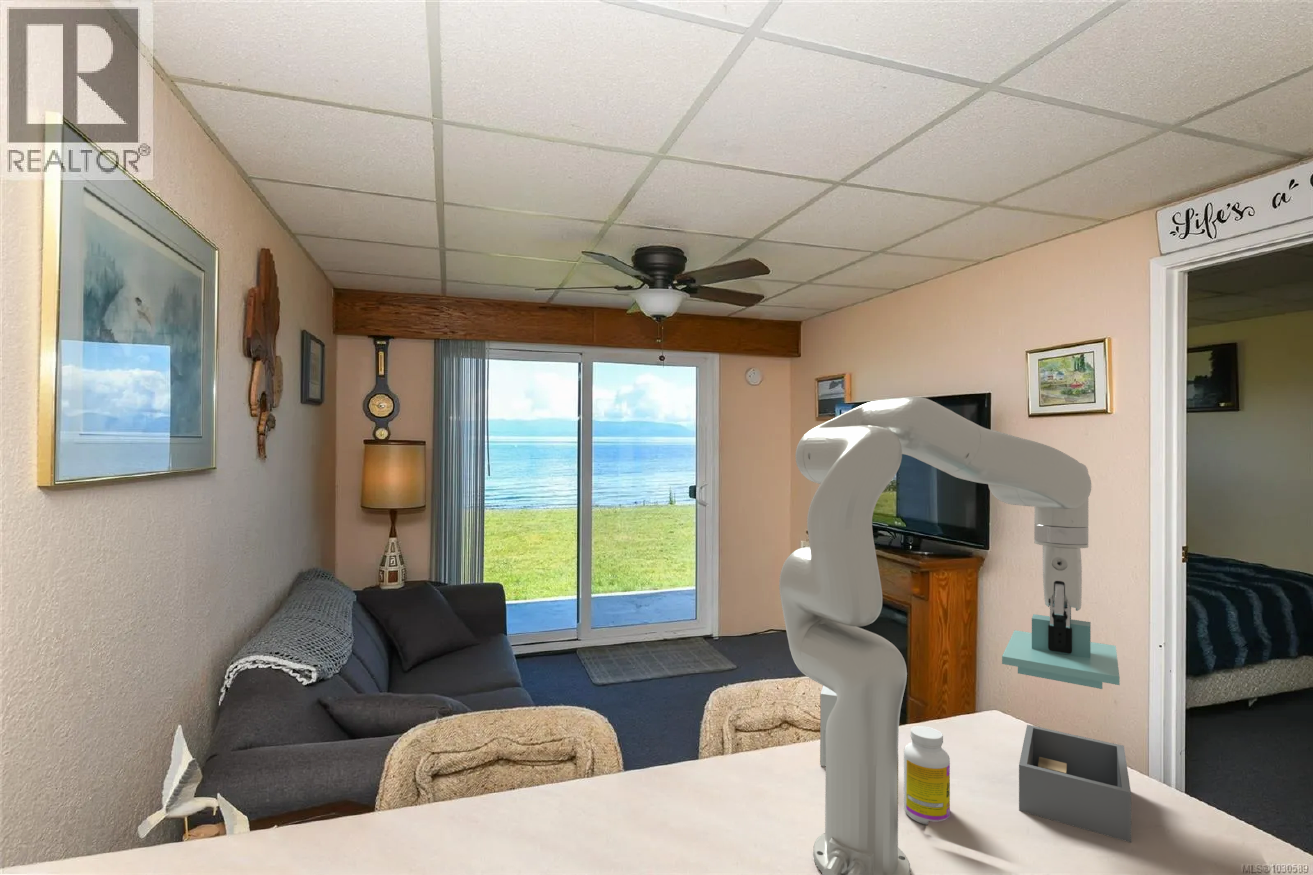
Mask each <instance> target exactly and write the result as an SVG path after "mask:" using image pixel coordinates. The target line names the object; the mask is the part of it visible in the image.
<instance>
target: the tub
mask: <svg viewBox="0 0 1313 875" xmlns="http://www.w3.org/2000/svg"><path fill="white" fill-rule="evenodd" d="M1021 748H1022V749H1021V753H1020V758H1019V759H1020V760H1019V762H1018V811H1019V812H1023V813H1025V814H1030V815H1033V816H1037V817H1040V818H1044V819H1046V820H1047V819H1048V820H1051V821H1055V822H1058V823H1062V824H1065V825H1069V826H1071V827H1072V826H1073V827H1076V828H1079V829H1082V830H1086V831H1090V832H1093V833H1097V834H1100V835H1104V836H1106V837H1111V838H1113V839H1117V840H1121V841H1124V842H1128V843H1132V792H1131V784H1130V777H1129V771H1128V764H1127V758H1126V751H1125V745H1122V744H1118V743H1114V742H1113V743H1112V742H1109V741H1104V740H1099V739H1095V738H1090V737H1085V736H1081V735H1076V734H1072V733H1067V732H1062V731H1058V730H1052V729H1049V728H1046V727H1045V728H1044V727H1040V726H1035V725H1031V724H1027V725H1026V729H1025V733H1024V739H1023V742H1022V747H1021ZM1039 757H1042V758H1047V759H1051V760H1055V761H1059V762H1063V763H1067V774H1065V773H1061V772H1057V771H1053V770H1049V769H1045V768H1041V767H1038V762H1039Z"/></svg>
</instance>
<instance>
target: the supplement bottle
mask: <svg viewBox="0 0 1313 875" xmlns="http://www.w3.org/2000/svg"><path fill="white" fill-rule="evenodd" d="M910 740H911V742H908V743H907V744H906V745H905V747H904V749H903V750H904V751H903V809H904V811H905V813H906V815H907V816H908V817H909V818H911V819H912V820H913V821H916V822H917V823H920V824H922V825H929V822H943V821H945V820H948V819H949V818H950V814H951V801H950V800H951V773H950V772H951V771H950V770H951V768H950V767H951V760H950V759H951V758H950V756H949V754H948V752H947V751H946V749H944V747H942V746H943V744H944V735H943V733H942V731H940V730H938V729H936V728H934V727H931V726H925V725H916V726H915V725H914V726H912V727H910Z"/></svg>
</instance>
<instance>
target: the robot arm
mask: <svg viewBox="0 0 1313 875" xmlns="http://www.w3.org/2000/svg"><path fill="white" fill-rule="evenodd" d="M903 455H906V456H909V457H911V458H914V459H915V460H916V459H917V460H918V461H921V462H923V463H925V464H927V465H930V466H931V467H933V468H935V469H937V470H940V471H941V472H944V473H946V474H948V475H950V476H952V477H954V478H958V479H959V480H965V481H968V482H969V481H970V482H974V483H978V484H986V485H988V489H989V491H990V493H991V494H992V496H993V497H994V498H995V499H997V500H999V501H1000V502H1002V503H1004V504H1008V505H1012V506H1020V507H1021V506H1023V507H1031V508H1033V507H1034V512H1033V514H1034V518H1033V519H1034V531H1033V532H1034V533H1033V534H1034V536H1033V537H1034V538H1033V540H1034V544H1036V545H1038V546H1039V545H1040V546H1042V585H1043V597H1044V598H1043V600H1044V605H1046V607H1048V608H1049V616H1050V625H1048V649H1049V650H1051V651H1056V652H1062V653H1068V654H1070V653H1072V628H1070V619H1072V608H1073V609H1074V608H1075V611H1077V612H1078V611H1080V610H1081V608H1082V594H1083V593H1082V588H1083V587H1082V585H1083V584H1082V582H1083V580H1082V578H1083V577H1082V575H1083V574H1082V572H1083V571H1082V569H1083V568H1082V567H1083V566H1082V564H1083V563H1082V551H1081V549H1088V548H1089V497H1090V496H1091V492H1092V480H1091V476H1090V475H1089V471H1088V467H1087V466H1086V465H1085V464H1084V463H1081V462H1080V461H1078V460H1077V459H1075V458H1074V457H1072V456H1071V455H1068V454H1067V453H1066V452H1065V453H1064V452H1063V451H1061V450H1059V449H1057V448H1055V447H1053V446H1050V445H1047V444H1044V443H1041V442H1038V441H1033V440H1030V439H1026V438H1022V437H1018V436H1015V435H1012V434H1008V433H1005V432H1001V431H998V430H993V429H991V428H990V429H989V428H986V427H984V426H981V425H979V424H977V423H975V422H973V421H972V420H969V419H967V418H965V417H963V416H962V415H960V414H958V413H957V412H954V411H953V410H951V409H949V408H947V407H946V406H943V405H941V404H940V403H938V402H935V401H933V400H932V399H929V398H926V397H922V396H921V397H920V396H904V397H895V398H894V397H893V398H883V399H874V400H871V401H868V402H866V403H863V404H861V405H859V406H856V407H854V408H852V409H850V410H848V411H845V412H844V413H842V414H840V415H837V416H836V417H834V418H832V419H830V420H827V421H825V422H823V423H821V424H819V425H817V426H815V427H813V428H811V429H810V430H808V431H806V433H805V434H803V436H802V437H801V438H800V440H799V442H798V443H797V445H796V450H795V465H796V467H797V468H798V471H799V472H800V473H801V475H802V476H803V477H804V478H806V479H807V480H808V481H810V482H813V483H815V484H818V485H819V486H818V487H817V489H816V491H815V493H814V495H813V497H812V499H811V502H810V504H809V508H808V511H807V517H806V519H807V520H806V522H807V524H806V526H807V535H808V544H809V545H808V546H805V547H800V548H797V549H796V550H794V551H793V552H792V553H790V555H789V556H787V558H786V560H784V562H783V565H782V567H781V571H780V574H779V585H778V586H779V588H778V589H779V595H780V596H779V597H780V602H781V608H782V614H783V620H784V625H785V626H784V627H785V630H786V636H787V641H788V646H789V647H788V648H789V651H790V654H791V657H792V659H793V662H794V664H795V665H796V668H797V669H798V670H799V671H800V672H801V673H802V674H803V675H804V676H806V677H807V678H808V679H810V680H812V681H814V682H816V683H818V684H820V685H823V686H825V687H827V688H829V689H830V690H832V691H833V692H835V693H836V694H837V701H836V704H835V706H834V708H833V710H832V712H831V713H830V715H829V718H828V720H827V725H826V738H825V745H826V767H825V792H824V793H825V794H824V795H825V796H824V797H825V800H824V802H825V803H824V804H825V806H824V807H825V810H824V814H825V815H824V816H825V817H824V820H825V821H824V827H825V828H824V833H822V834H821V835H819V836H818V837H817V838H816V839H815V841H814V844H813V849H812V850H813V851H812V853H813V854H812V856H813V861H814V863H815V864H816V867H817V868H818V869H819V871H820V872H821V873H822V875H911V864H910V861H909V858H908V857H907V856H906V854H905V852H903V851H902V850H901V848H899V730H900V729H899V727H900V717H901V709H902V703H903V697H904V693H905V691H906V690H905V689H906V685H907V677H908V676H907V675H908V672H907V664H906V661H905V658H904V657H903V654H902V653H901V652H900V650H899V649H898V648H897V647H896V646H895V644H893V643H892V642H890V641H889V640H888V639H886V638H885V637H883V636H882V635H879V634H877V633H875V632H872V631H869V630H867V629H864V628H862V627H865V626H869V625H870V624H873V623H874V622H875V621H876V620H877V619H878V618H879V616H880V615H881V612H882V608H883V590H882V589H883V588H882V581H881V577H880V569H879V564H878V559H877V553H876V552H877V551H876V546H875V542H874V535H873V534H874V533H873V532H874V531H873V515H874V511H875V508H876V506H877V503H878V500H879V499H880V497H881V495H882V493H883V492H884V491H885V489H886V488H887V486H888V485H889V484H890V483H891V482H892V480H893V479H894V477H895V476H896V474H897V473H898V471H899V469H900V466H901V464H902V460H903Z"/></svg>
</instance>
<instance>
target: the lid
mask: <svg viewBox="0 0 1313 875" xmlns="http://www.w3.org/2000/svg"><path fill="white" fill-rule="evenodd" d="M1091 624H1092V623H1091V621H1086V620H1079V619H1078V620H1077V619H1072V618H1071V619H1070V628H1072V653H1070V654H1068V653H1062V652H1056V651H1051V650H1049V649H1048V625H1050V615H1042V614H1035V613H1033V614H1032V617H1031V632H1028V631H1023V630H1022V631H1021V630H1016V629H1015V630H1013V632H1012V634H1011V636H1010V639H1009V640H1008V643H1007V645H1006V647H1005V649H1004V651H1003V654H1002V655H1001V664H1002V665H1007V666H1012V667H1016V668H1017V674H1020V675H1025V676H1031V677H1035V678H1040V679H1041V678H1042V679H1046V680H1052V681H1057V682H1062V683H1067V684H1073V685H1079V686H1084V687H1089V688H1094V689H1100V690H1103V683H1105V684H1111V685H1117V686H1120V684H1121V683H1120V681H1121V680H1120V670H1119V668H1120V667H1119V660H1118V652H1117V645H1114V644H1113V645H1112V644H1105V643H1099V642H1093V641H1091V637H1092V636H1091V632H1092V631H1091V628H1092V627H1091Z"/></svg>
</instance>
